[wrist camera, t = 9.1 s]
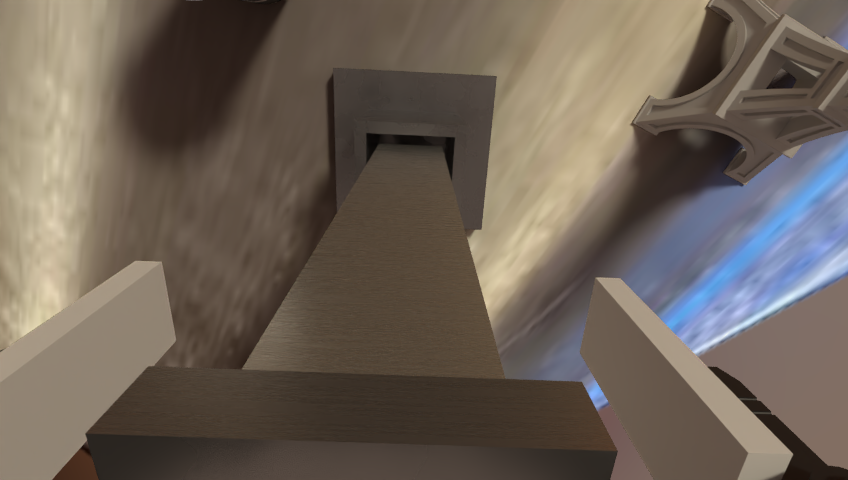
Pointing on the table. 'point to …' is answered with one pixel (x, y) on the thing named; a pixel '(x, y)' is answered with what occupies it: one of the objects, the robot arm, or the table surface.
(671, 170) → the table surface
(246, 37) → the table surface
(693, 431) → the robot arm
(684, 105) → the eiffel tower
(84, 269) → the table surface
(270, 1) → the coffee cup
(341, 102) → the stand base
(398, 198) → the column
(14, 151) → the table surface
